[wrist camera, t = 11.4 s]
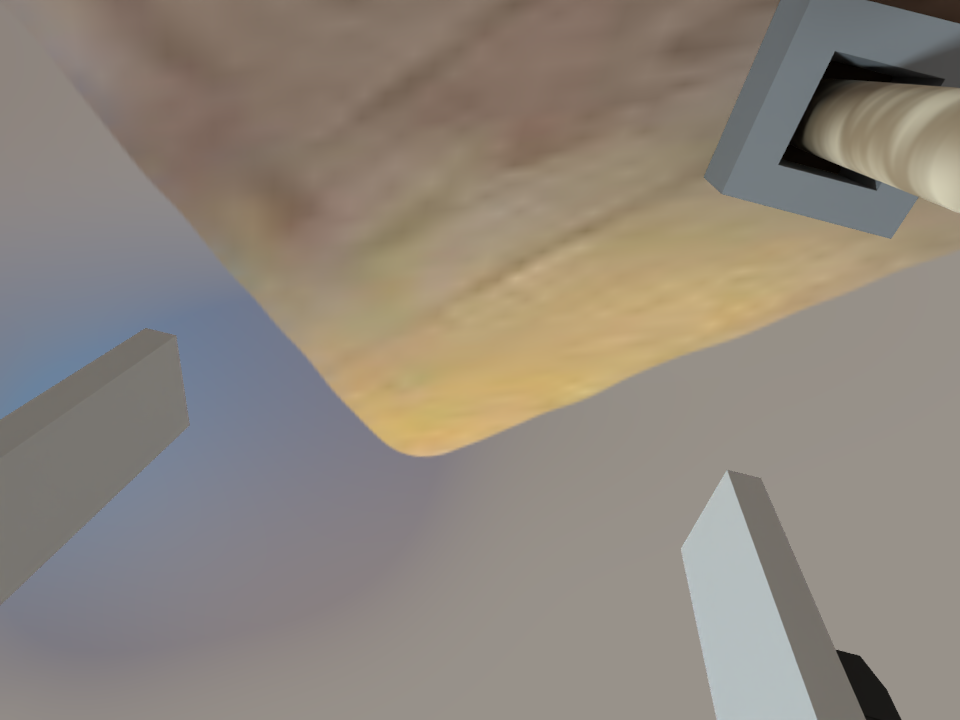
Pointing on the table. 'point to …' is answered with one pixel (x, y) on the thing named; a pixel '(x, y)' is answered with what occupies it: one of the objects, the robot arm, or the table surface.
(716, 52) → the table surface
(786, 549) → the robot arm
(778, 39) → the socket
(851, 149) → the peg
